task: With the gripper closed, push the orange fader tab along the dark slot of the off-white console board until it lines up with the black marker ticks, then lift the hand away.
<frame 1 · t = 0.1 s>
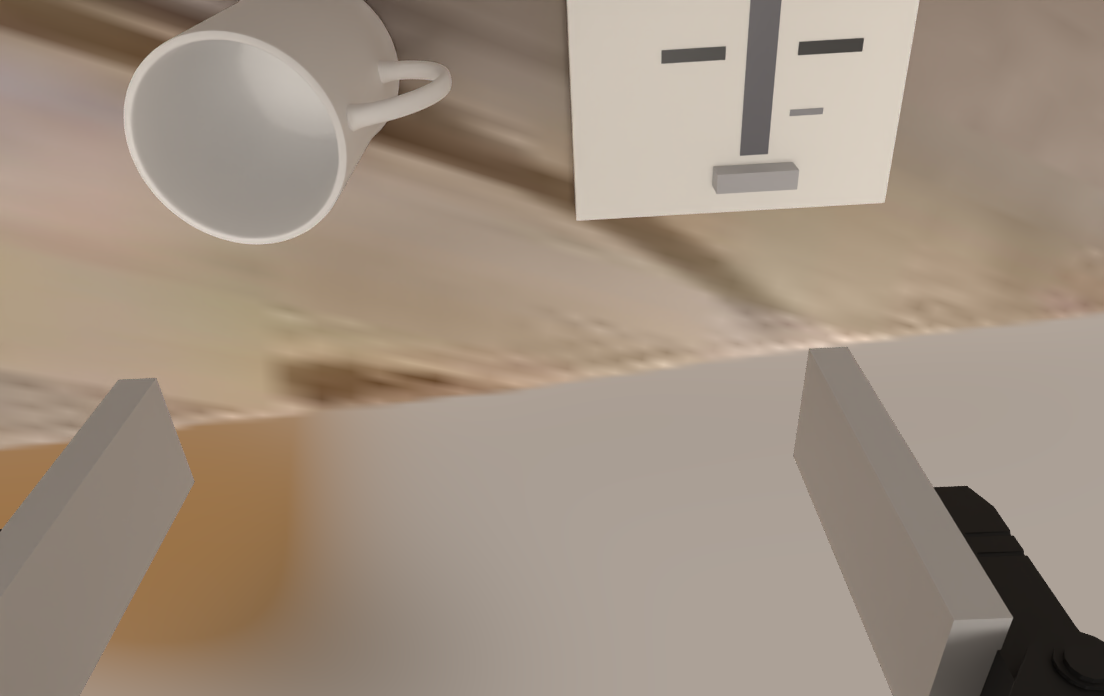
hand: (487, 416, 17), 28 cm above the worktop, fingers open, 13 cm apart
mug: (346, 65, 40), on the worktop
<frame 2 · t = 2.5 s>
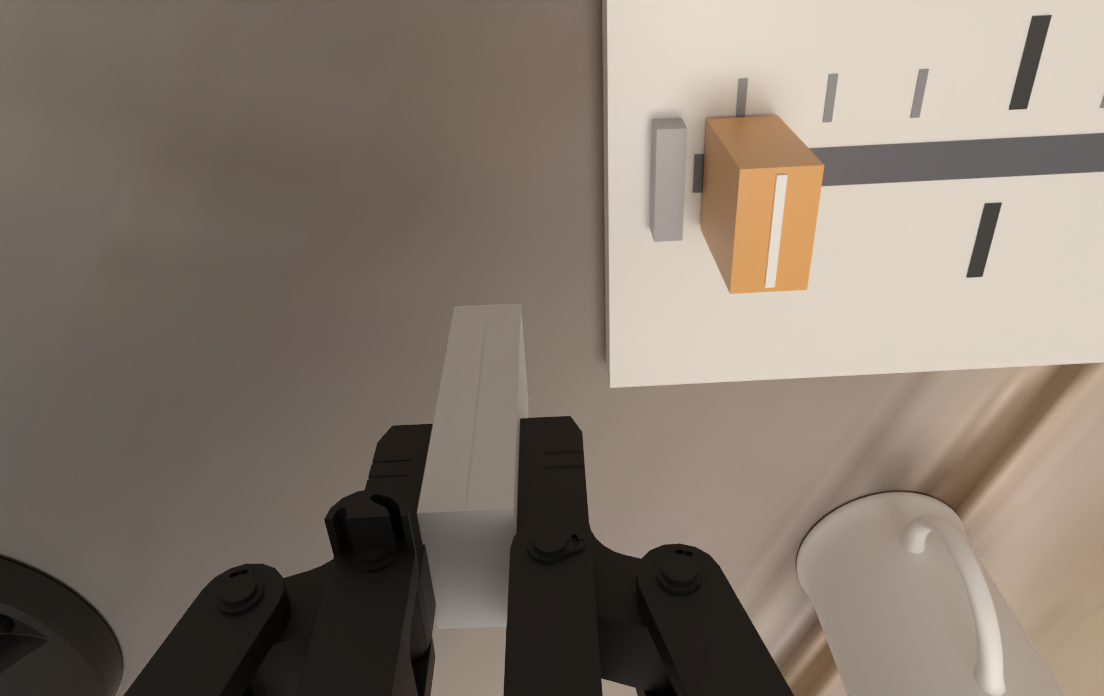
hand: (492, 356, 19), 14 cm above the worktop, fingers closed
console: (892, 169, 31), on the worktop
mug: (883, 526, 41), on the worktop
fader: (755, 201, 26), point 5 cm above the worktop, slide at 0.0 cm
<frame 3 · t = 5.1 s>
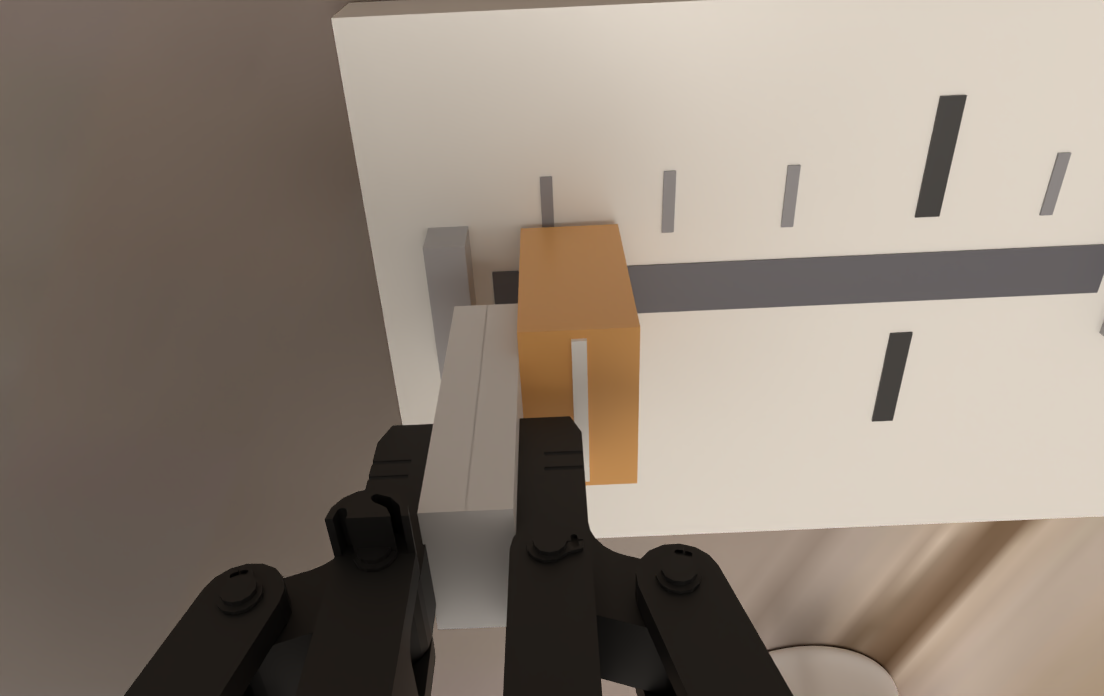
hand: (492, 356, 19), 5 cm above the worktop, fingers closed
console: (775, 280, 23), on the worktop
mug: (797, 680, 34), on the worktop
fader: (575, 349, 19), point 5 cm above the worktop, slide at 0.5 cm, touching gripper
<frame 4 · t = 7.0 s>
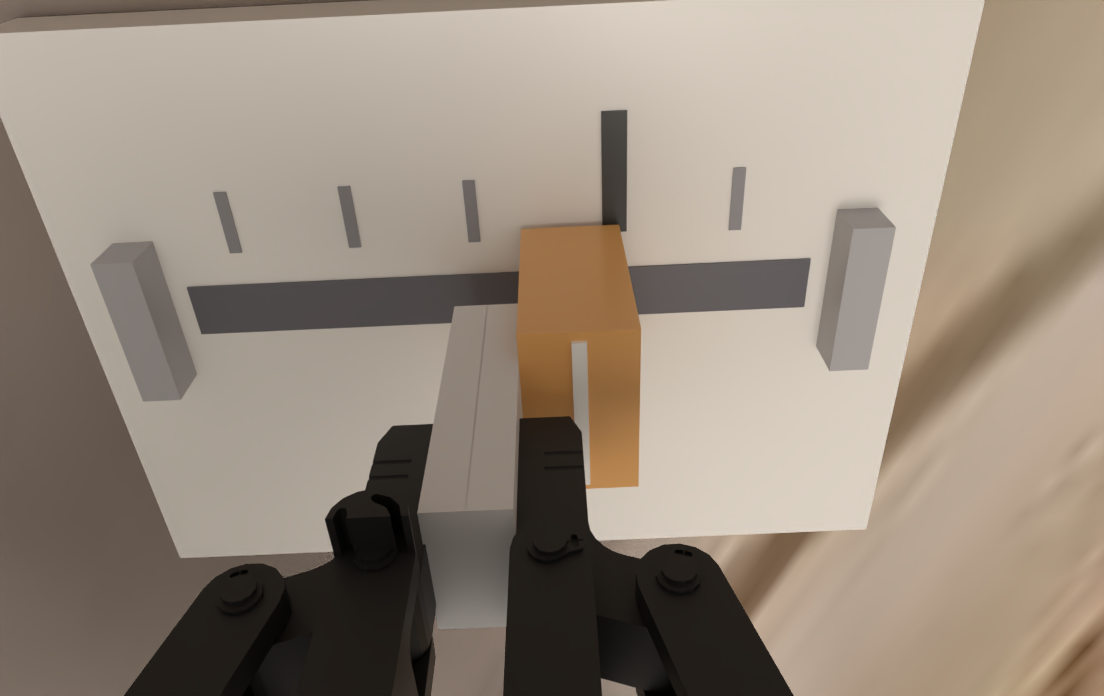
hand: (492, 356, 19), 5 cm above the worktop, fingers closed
console: (505, 293, 23), on the worktop
mug: (611, 690, 34), on the worktop
fader: (576, 351, 19), point 5 cm above the worktop, slide at 8.4 cm, touching gripper
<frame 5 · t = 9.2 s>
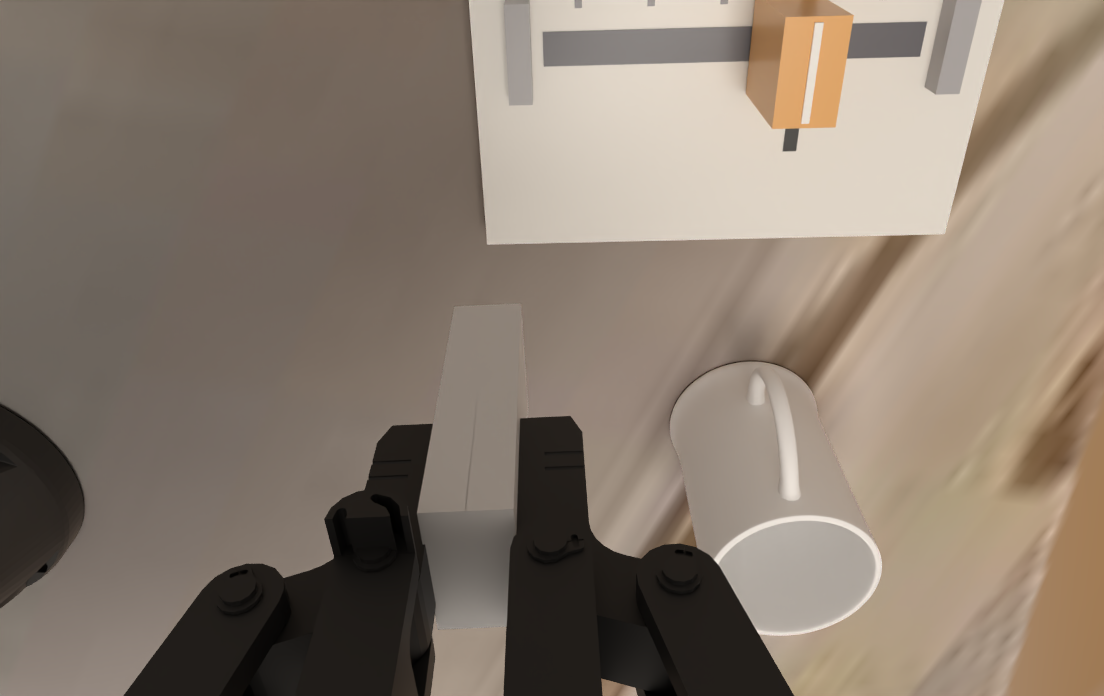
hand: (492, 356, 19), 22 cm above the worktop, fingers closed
console: (722, 57, 36), on the worktop
mug: (744, 396, 47), on the worktop
fader: (794, 58, 32), point 5 cm above the worktop, slide at 8.4 cm
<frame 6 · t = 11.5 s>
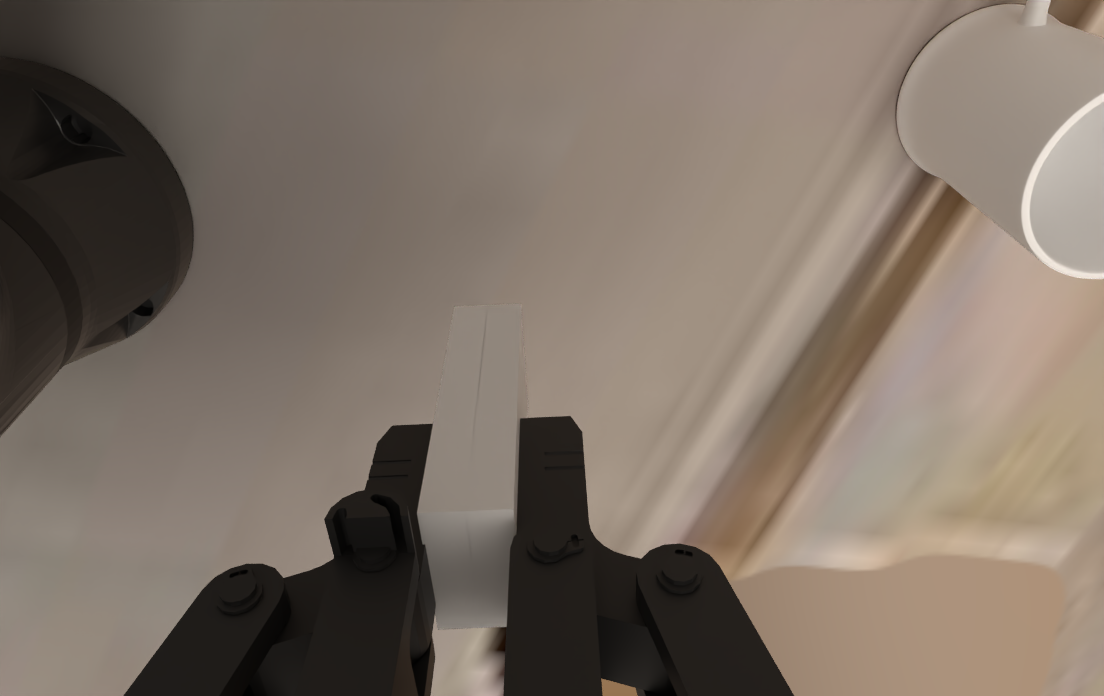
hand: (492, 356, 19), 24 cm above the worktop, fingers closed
mug: (989, 60, 39), on the worktop
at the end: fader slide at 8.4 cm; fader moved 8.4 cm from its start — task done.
